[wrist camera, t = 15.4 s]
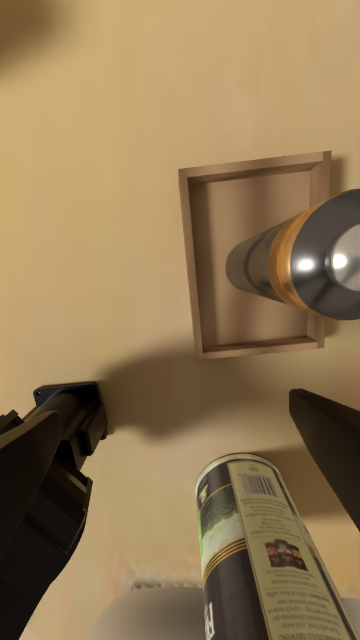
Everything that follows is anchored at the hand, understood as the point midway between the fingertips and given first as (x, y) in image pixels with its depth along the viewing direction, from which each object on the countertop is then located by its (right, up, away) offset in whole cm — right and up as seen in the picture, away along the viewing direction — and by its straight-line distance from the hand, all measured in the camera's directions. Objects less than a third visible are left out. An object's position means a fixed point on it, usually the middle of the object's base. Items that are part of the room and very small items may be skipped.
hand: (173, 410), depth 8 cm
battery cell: (+6, +8, +11) cm, 15 cm away
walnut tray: (+6, +8, +11) cm, 16 cm away
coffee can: (+7, -16, +17) cm, 24 cm away
